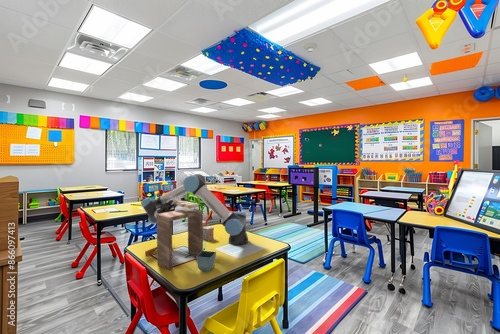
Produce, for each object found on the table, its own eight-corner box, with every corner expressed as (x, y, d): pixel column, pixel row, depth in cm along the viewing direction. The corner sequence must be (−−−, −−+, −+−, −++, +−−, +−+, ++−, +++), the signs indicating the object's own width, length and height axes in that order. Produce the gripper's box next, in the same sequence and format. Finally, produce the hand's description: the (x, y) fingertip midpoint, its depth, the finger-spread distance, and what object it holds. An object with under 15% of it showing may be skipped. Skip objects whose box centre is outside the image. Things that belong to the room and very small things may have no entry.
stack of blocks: (213, 239, 188) (213, 223, 188) (207, 240, 184) (207, 225, 184) (198, 233, 203) (198, 219, 203) (192, 235, 199) (192, 220, 199)
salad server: (166, 203, 159) (165, 200, 159) (175, 202, 165) (175, 198, 165) (189, 208, 143) (189, 204, 143) (198, 206, 148) (198, 202, 148)
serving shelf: (190, 252, 160) (189, 207, 160) (203, 257, 151) (203, 210, 151) (156, 264, 142) (156, 214, 141) (169, 270, 133) (169, 217, 132)
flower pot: (211, 273, 129) (210, 257, 129) (195, 272, 131) (195, 256, 131) (216, 267, 138) (216, 251, 137) (202, 265, 139) (202, 250, 139)
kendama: (142, 249, 156) (164, 237, 175) (144, 257, 156) (166, 245, 175) (149, 248, 154) (170, 237, 172) (151, 257, 154) (172, 245, 172)
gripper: (173, 215, 174) (189, 202, 161) (153, 219, 163) (168, 205, 149) (170, 205, 177) (186, 192, 163) (150, 209, 165) (165, 194, 152)
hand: (177, 198), depth 156 cm, fingers closed on salad server, 2 cm apart
